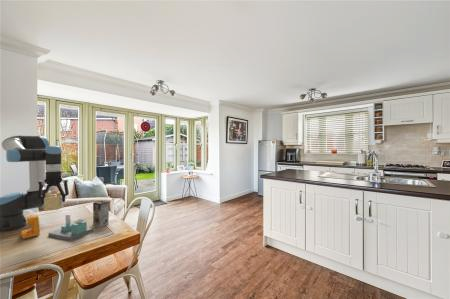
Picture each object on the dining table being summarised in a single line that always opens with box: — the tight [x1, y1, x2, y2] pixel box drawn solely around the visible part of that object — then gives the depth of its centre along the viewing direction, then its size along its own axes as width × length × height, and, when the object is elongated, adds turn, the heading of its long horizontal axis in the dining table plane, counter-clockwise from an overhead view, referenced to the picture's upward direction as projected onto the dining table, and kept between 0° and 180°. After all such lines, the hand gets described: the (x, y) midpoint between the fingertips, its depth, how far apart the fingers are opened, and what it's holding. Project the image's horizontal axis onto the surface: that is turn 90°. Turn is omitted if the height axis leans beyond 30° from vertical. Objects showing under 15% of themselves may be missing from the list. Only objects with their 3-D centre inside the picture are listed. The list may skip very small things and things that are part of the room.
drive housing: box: [48, 213, 94, 242], centre depth 128 cm, size 20×14×12 cm
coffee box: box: [92, 200, 110, 227], centre depth 144 cm, size 9×6×16 cm
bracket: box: [21, 214, 41, 239], centre depth 125 cm, size 11×7×12 cm, turn 51°
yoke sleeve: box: [43, 191, 62, 212], centre depth 121 cm, size 7×7×10 cm
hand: (53, 207), depth 121 cm, fingers closed on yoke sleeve, 7 cm apart
